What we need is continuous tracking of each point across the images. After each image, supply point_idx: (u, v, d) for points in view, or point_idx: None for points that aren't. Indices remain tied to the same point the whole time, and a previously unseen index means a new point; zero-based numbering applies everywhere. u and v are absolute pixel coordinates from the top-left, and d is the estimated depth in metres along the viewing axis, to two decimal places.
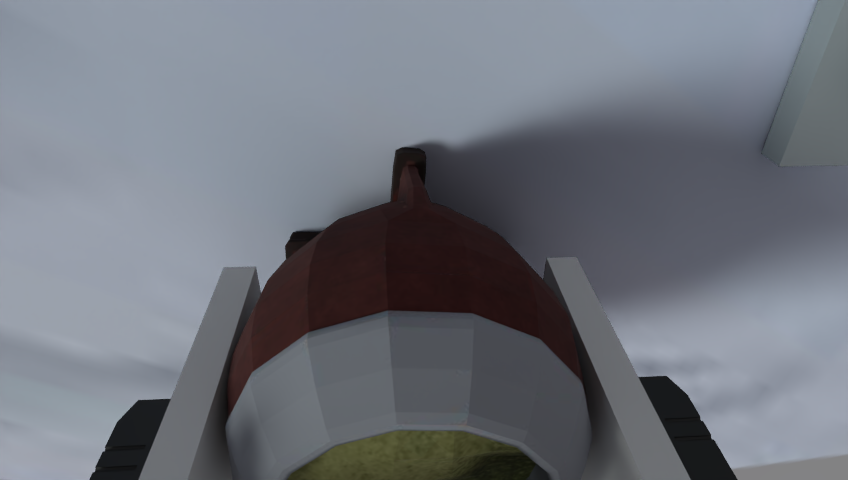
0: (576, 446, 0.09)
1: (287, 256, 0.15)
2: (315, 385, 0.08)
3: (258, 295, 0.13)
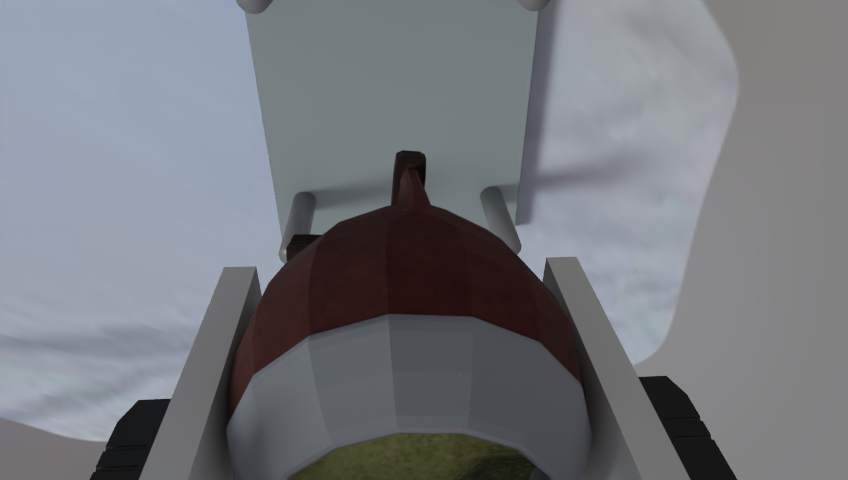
0: (576, 449, 0.09)
1: (288, 258, 0.15)
2: (316, 388, 0.08)
3: (258, 295, 0.13)
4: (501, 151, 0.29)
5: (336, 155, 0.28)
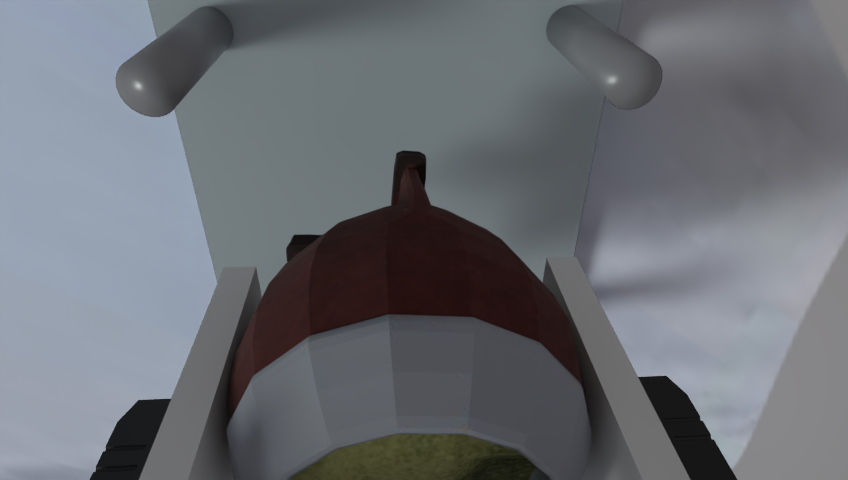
0: (576, 449, 0.09)
1: (288, 258, 0.15)
2: (316, 389, 0.08)
3: (258, 295, 0.13)
4: (542, 264, 0.21)
5: None
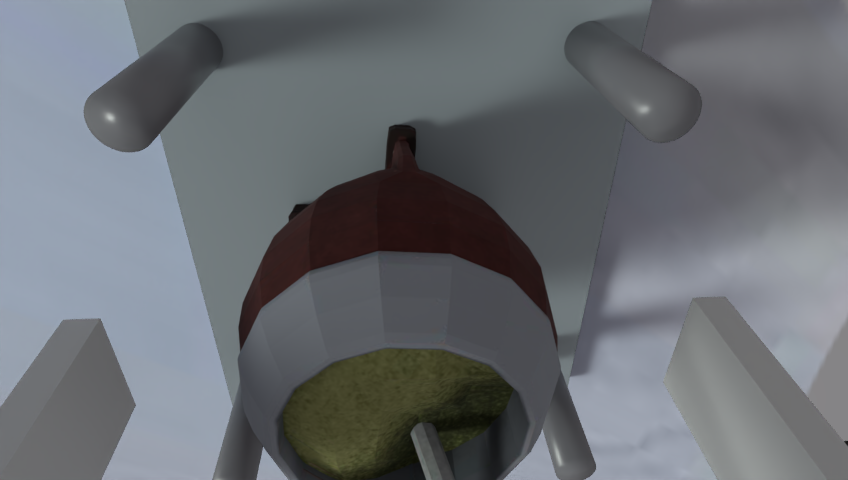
0: (543, 372, 0.10)
1: None
2: (316, 313, 0.09)
3: (105, 350, 0.12)
4: (556, 294, 0.19)
5: None
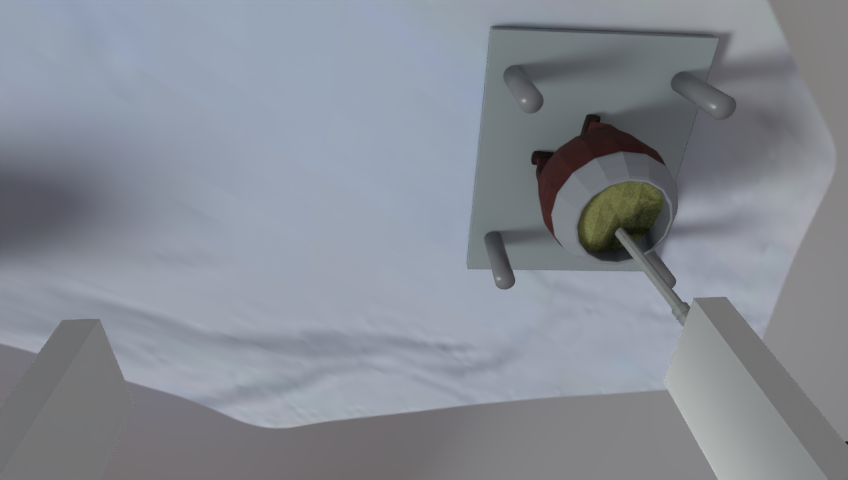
0: (675, 201, 0.28)
1: (532, 161, 0.34)
2: (602, 170, 0.27)
3: (104, 350, 0.12)
4: None
5: (526, 205, 0.36)
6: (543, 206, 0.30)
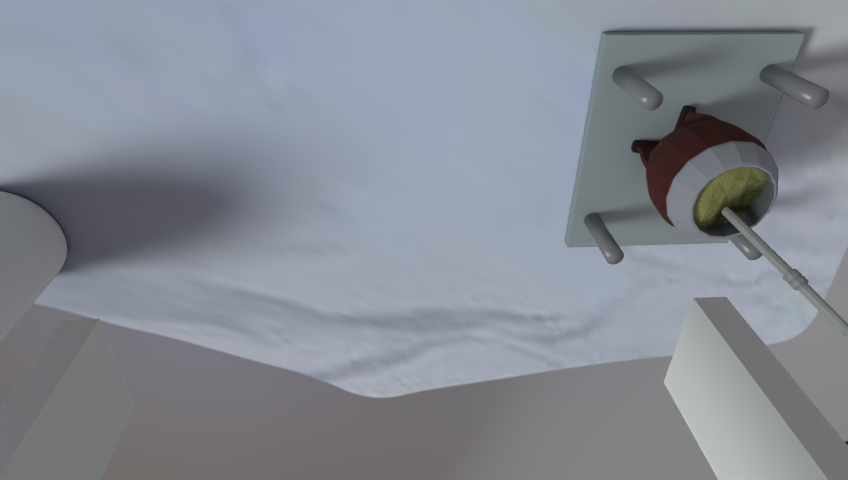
0: (777, 182, 0.33)
1: (633, 149, 0.39)
2: (716, 158, 0.32)
3: (104, 351, 0.12)
4: None
5: (623, 188, 0.41)
6: (656, 190, 0.35)
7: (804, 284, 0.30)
